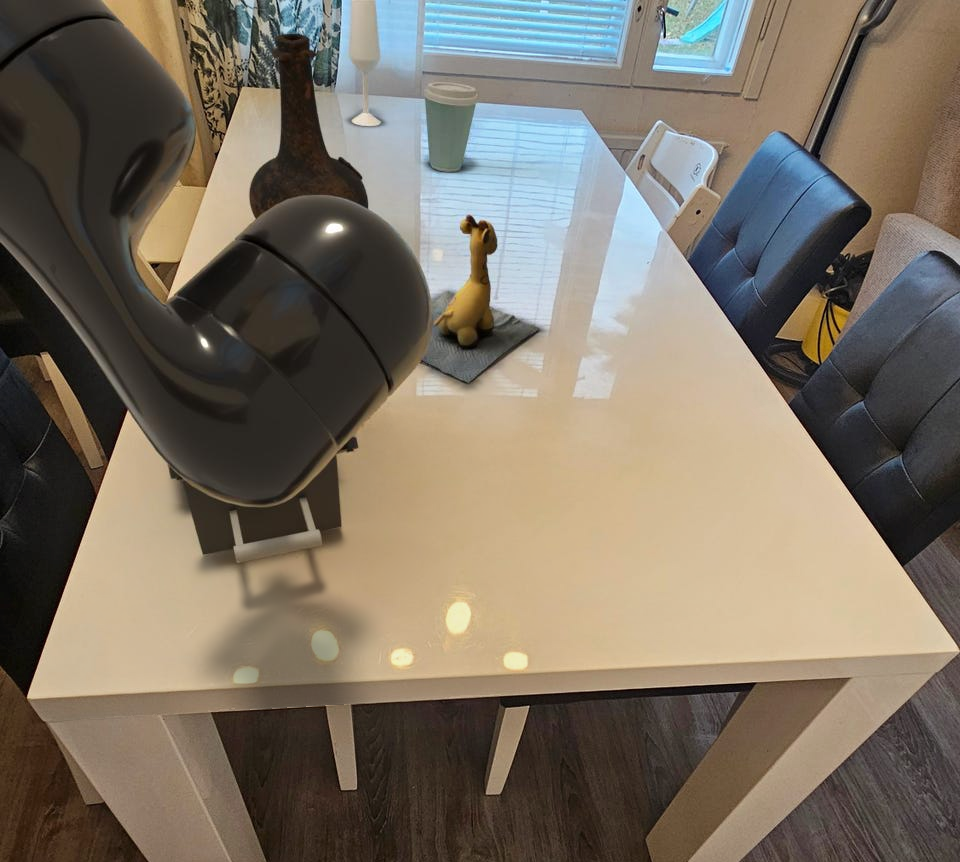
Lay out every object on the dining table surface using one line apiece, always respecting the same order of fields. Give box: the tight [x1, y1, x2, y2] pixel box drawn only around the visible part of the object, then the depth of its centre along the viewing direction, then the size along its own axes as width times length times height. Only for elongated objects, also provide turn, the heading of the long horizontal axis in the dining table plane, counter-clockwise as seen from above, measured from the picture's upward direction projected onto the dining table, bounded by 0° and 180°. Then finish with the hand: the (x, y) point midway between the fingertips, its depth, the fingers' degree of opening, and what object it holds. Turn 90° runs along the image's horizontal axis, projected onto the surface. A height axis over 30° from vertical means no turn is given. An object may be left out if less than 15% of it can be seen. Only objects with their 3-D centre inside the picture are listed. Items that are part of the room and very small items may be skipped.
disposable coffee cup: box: [423, 81, 479, 173], centre depth 140 cm, size 11×11×15 cm
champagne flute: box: [348, 0, 382, 127], centre depth 154 cm, size 7×7×24 cm
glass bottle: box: [248, 32, 369, 220], centre depth 104 cm, size 18×18×28 cm
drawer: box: [181, 454, 343, 564], centre depth 65 cm, size 20×13×9 cm, turn 21°
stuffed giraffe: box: [421, 214, 541, 384], centre depth 91 cm, size 16×18×16 cm
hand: (261, 459), depth 56 cm, fingers closed
